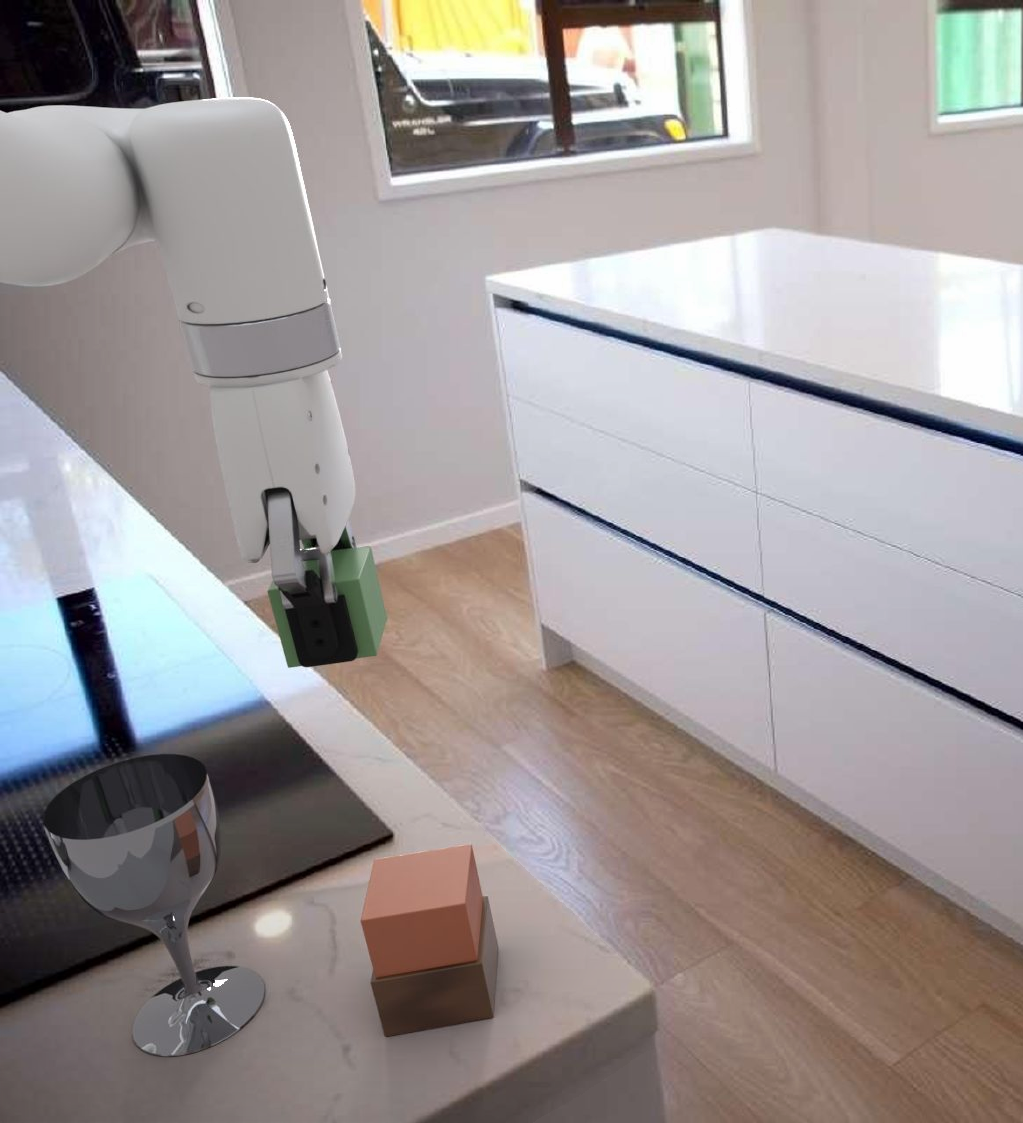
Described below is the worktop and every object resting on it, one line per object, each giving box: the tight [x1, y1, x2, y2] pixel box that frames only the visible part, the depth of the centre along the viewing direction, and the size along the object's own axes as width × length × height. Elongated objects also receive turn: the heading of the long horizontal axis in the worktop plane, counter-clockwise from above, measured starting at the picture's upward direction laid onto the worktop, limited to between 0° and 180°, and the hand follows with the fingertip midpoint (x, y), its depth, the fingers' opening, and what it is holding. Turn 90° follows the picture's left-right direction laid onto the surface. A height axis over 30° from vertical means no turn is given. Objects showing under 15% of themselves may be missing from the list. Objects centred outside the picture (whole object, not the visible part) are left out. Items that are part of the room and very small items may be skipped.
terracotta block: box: [360, 843, 484, 978], centre depth 72 cm, size 6×6×4 cm
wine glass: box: [42, 753, 266, 1057], centre depth 71 cm, size 8×8×15 cm
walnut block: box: [369, 895, 499, 1037], centre depth 74 cm, size 6×6×4 cm
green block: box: [266, 545, 388, 669], centre depth 75 cm, size 5×5×5 cm
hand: (337, 636), depth 76 cm, fingers closed on green block, 5 cm apart
